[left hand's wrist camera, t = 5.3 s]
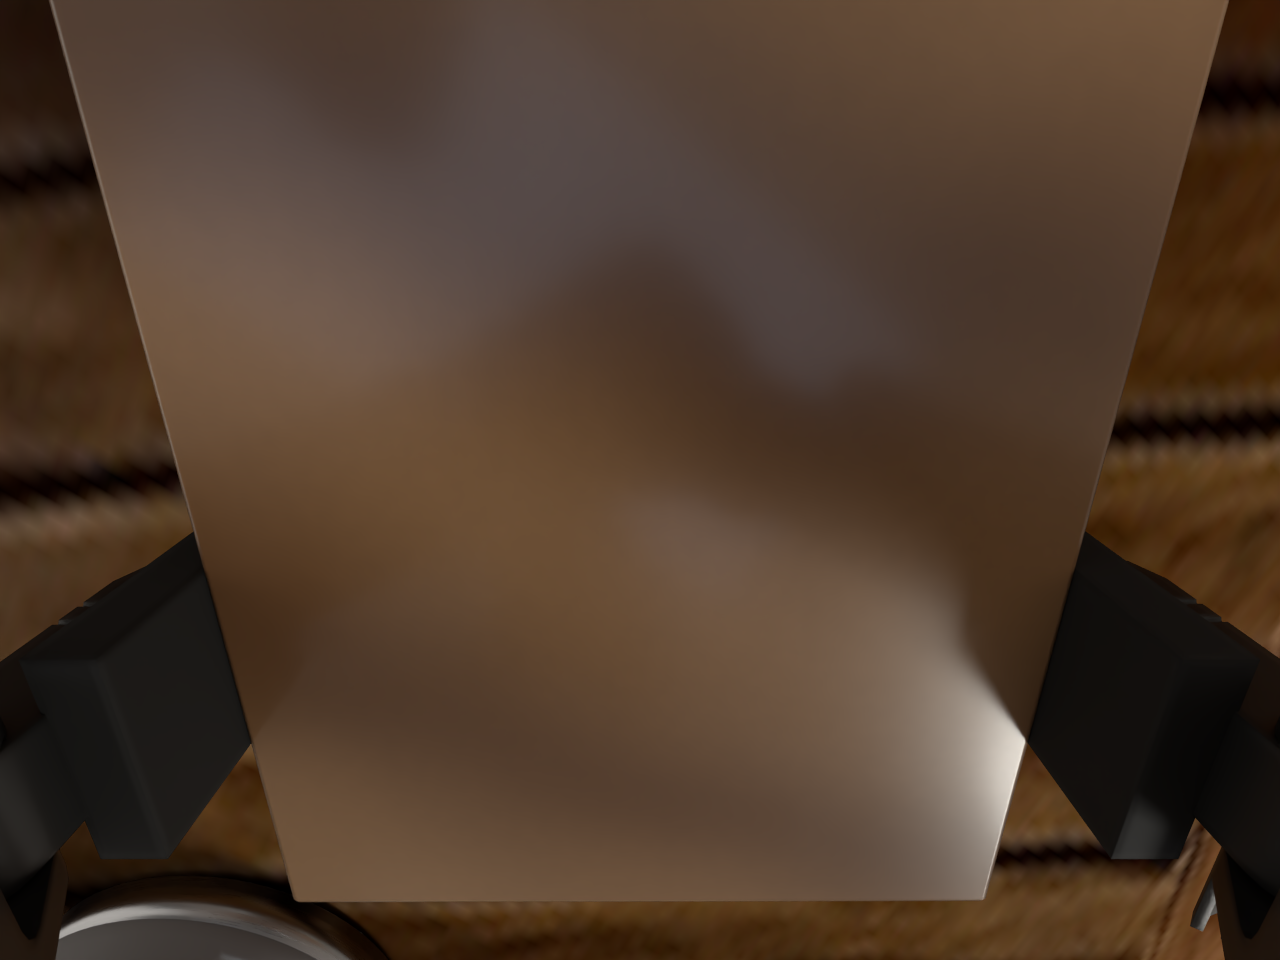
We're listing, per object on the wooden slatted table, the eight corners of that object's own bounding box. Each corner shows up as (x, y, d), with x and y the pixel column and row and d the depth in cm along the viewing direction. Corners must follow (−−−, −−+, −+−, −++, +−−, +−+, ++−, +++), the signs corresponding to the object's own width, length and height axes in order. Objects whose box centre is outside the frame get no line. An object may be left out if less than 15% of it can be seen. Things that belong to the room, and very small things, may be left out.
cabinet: (369, -381, 13) (-709, -2725, 3) (907, -380, 13) (1973, -2704, 3) (468, 550, 21) (292, 904, 10) (810, 550, 21) (986, 904, 10)
